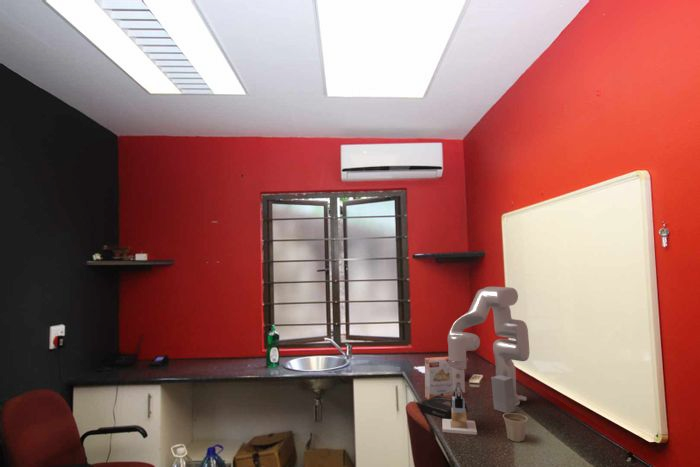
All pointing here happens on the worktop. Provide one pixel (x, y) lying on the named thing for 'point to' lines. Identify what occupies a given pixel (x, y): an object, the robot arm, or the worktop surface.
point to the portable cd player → (438, 407)
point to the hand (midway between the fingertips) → (458, 404)
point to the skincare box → (503, 394)
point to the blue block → (459, 410)
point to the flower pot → (515, 426)
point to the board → (469, 430)
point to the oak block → (459, 419)
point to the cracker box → (438, 378)
